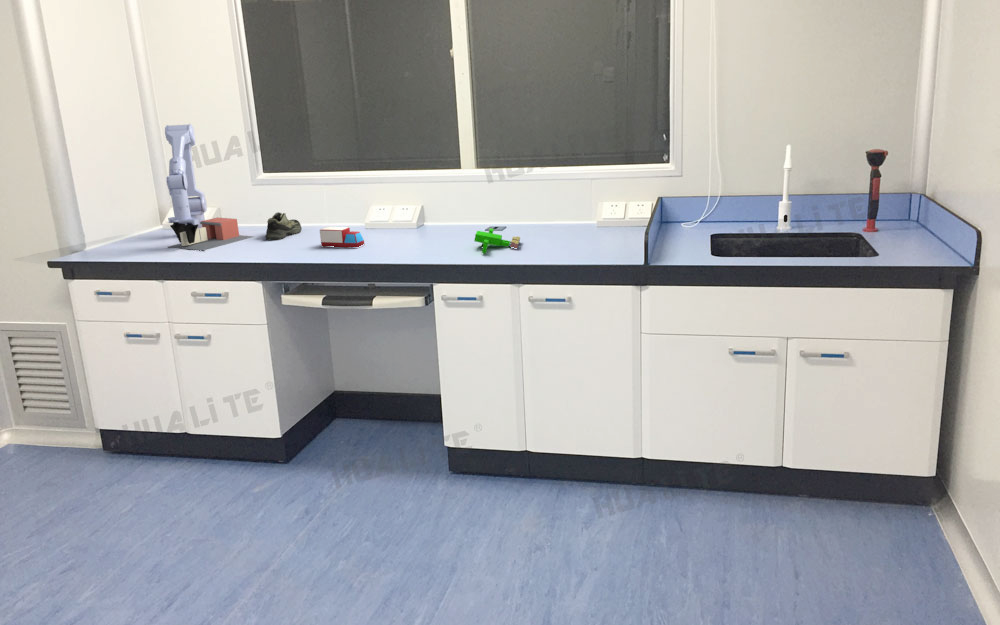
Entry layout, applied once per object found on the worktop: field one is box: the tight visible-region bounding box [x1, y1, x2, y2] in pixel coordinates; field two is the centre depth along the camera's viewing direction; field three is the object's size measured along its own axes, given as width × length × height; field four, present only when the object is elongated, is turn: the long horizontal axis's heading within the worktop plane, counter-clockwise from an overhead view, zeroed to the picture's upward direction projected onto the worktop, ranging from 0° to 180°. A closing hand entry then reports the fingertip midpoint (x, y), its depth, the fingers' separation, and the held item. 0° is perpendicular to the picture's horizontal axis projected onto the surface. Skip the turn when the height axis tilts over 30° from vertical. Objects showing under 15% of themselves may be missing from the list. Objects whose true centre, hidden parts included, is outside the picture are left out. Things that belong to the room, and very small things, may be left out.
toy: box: [473, 228, 521, 254], centre depth 282 cm, size 22×5×15 cm
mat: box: [167, 234, 255, 252], centre depth 315 cm, size 20×25×1 cm
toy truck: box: [319, 226, 365, 248], centre depth 296 cm, size 6×15×7 cm, turn 69°
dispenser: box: [200, 216, 240, 240], centre depth 321 cm, size 11×9×7 cm
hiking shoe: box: [265, 211, 303, 241], centre depth 321 cm, size 8×21×9 cm, turn 167°
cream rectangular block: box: [180, 227, 208, 246], centre depth 311 cm, size 2×11×5 cm, turn 150°
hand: (187, 242), depth 308 cm, fingers open, 5 cm apart
